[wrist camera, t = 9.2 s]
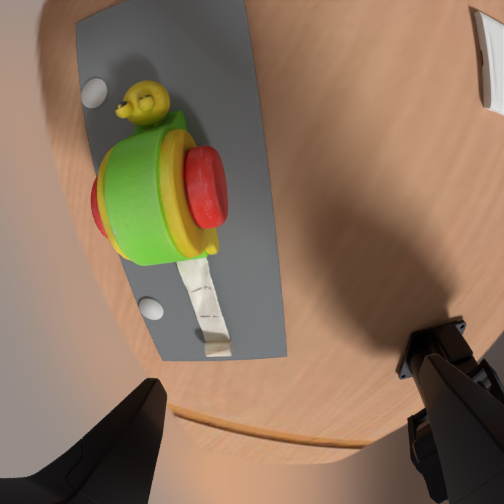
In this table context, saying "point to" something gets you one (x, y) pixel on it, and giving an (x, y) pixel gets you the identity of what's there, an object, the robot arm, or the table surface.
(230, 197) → the marked mat
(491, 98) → the external hard drive
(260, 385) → the table surface
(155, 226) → the toy measuring tape
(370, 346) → the table surface
